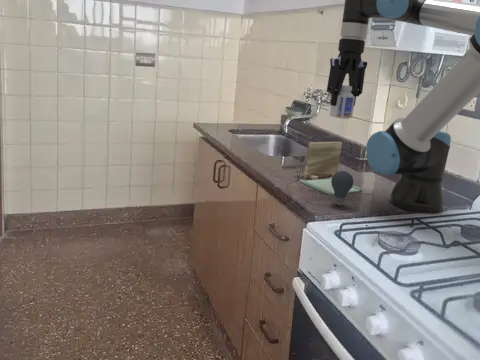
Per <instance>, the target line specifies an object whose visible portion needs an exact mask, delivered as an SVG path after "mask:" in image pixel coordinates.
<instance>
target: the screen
mask: <svg viewBox="0 0 480 360" xmlns="http://www.w3.org/2000/svg"><path fill="white" fill-rule="evenodd" d="M342 146H343V142H342V141H317V142H316V141H315V142H311V141H310V142H308V145H307V152H306V161H305V166H304V172H302V173H301V176H302V177H303V178H305V179H309V180H319V179H320V178H328V177H329V178H330V177H333V175H334V174H335V173H337V172H339V165H340V160H341V152H342Z"/></svg>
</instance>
